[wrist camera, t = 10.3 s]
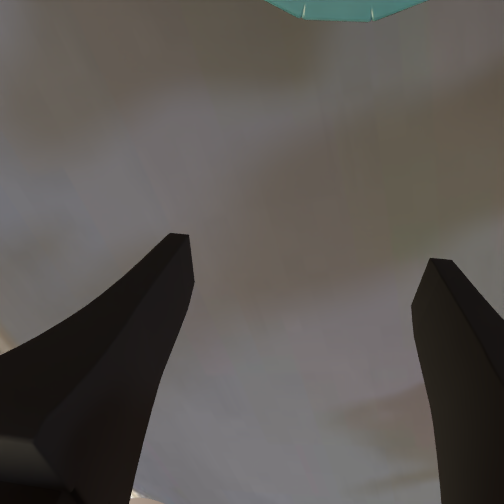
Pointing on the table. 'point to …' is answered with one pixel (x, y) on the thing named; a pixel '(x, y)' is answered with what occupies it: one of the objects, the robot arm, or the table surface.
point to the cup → (343, 9)
